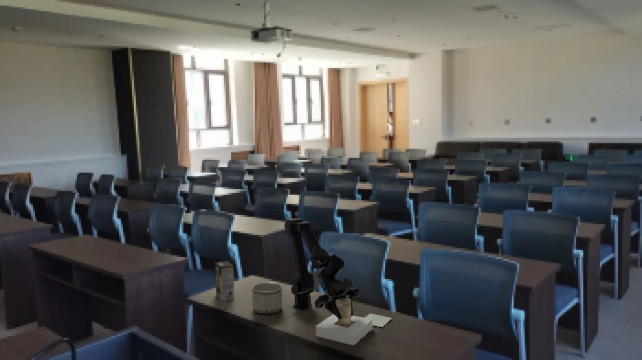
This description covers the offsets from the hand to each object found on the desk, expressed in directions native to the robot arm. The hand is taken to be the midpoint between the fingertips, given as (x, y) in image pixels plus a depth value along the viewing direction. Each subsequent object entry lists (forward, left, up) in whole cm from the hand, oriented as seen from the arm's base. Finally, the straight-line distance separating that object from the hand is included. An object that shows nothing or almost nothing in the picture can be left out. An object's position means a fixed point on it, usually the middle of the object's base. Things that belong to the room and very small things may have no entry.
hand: (346, 317), depth 188 cm
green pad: (+5, +17, -7) cm, 19 cm away
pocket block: (-1, +1, -7) cm, 7 cm away
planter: (-41, +5, -7) cm, 42 cm away
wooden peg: (-1, +1, -7) cm, 7 cm away
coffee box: (-68, +8, -7) cm, 69 cm away
